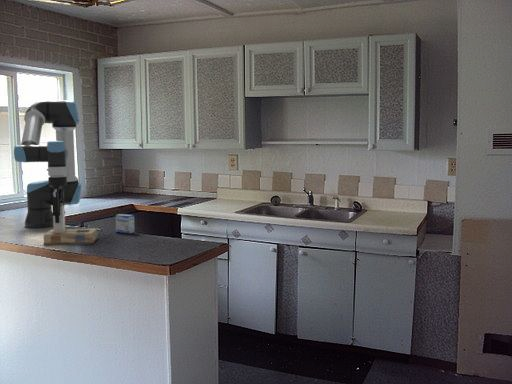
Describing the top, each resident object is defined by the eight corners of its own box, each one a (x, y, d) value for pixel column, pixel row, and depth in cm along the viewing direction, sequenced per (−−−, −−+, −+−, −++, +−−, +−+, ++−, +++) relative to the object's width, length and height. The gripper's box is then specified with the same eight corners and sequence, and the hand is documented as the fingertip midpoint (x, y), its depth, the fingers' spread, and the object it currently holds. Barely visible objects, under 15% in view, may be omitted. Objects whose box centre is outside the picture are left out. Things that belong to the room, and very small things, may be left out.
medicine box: (115, 232, 256) (115, 215, 255) (120, 231, 260) (120, 213, 259) (129, 233, 253) (129, 215, 252) (134, 232, 257) (134, 214, 257)
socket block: (52, 238, 240) (51, 228, 239) (97, 237, 242) (97, 227, 242) (43, 245, 226) (43, 234, 225) (91, 244, 228) (91, 233, 228)
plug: (56, 232, 235) (54, 203, 234) (65, 231, 235) (64, 203, 234) (53, 233, 231) (52, 204, 230) (63, 233, 231) (62, 204, 230)
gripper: (53, 175, 239) (55, 226, 241) (43, 177, 222) (45, 232, 224) (70, 174, 240) (72, 225, 242) (61, 177, 223) (63, 232, 225)
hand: (59, 229), depth 233 cm, fingers closed on plug, 4 cm apart
